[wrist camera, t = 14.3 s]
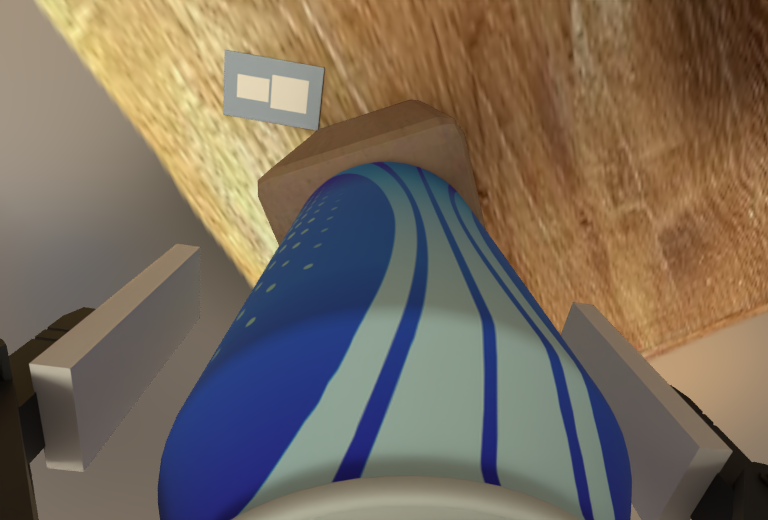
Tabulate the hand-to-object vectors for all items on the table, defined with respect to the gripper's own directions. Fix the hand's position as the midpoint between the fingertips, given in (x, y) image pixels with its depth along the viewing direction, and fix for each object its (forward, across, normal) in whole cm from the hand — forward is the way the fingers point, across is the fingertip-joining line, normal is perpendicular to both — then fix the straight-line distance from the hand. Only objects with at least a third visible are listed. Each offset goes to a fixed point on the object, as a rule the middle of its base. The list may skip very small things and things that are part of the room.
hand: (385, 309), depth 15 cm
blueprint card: (+26, +10, -5) cm, 28 cm away
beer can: (+6, 0, 0) cm, 6 cm away
